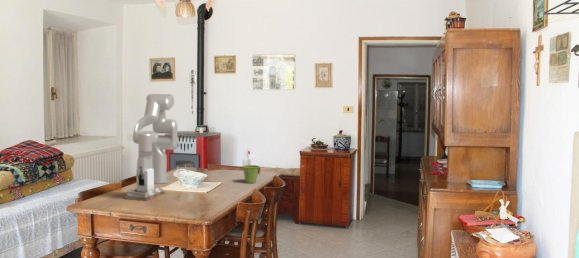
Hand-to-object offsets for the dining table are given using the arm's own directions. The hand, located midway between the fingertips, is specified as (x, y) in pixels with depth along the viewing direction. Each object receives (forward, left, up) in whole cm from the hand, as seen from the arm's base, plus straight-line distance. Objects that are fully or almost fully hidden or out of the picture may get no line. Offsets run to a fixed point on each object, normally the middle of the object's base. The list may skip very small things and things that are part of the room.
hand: (145, 183), depth 274 cm
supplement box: (0, 0, -4) cm, 4 cm away
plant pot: (-60, +44, -7) cm, 75 cm away
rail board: (0, 0, -7) cm, 7 cm away
